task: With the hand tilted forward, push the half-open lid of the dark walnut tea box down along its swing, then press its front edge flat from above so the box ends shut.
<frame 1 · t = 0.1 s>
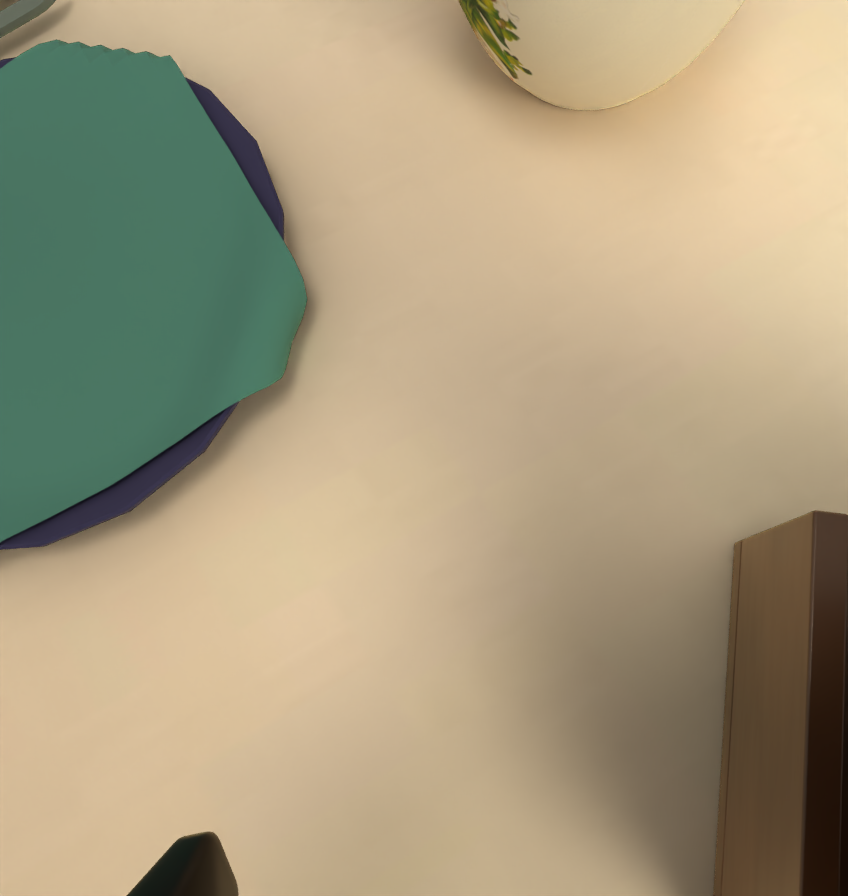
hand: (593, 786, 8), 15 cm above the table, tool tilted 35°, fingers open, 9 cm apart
pitcher: (580, 22, 29), on the table
cutlery set: (9, 208, 30), on the table
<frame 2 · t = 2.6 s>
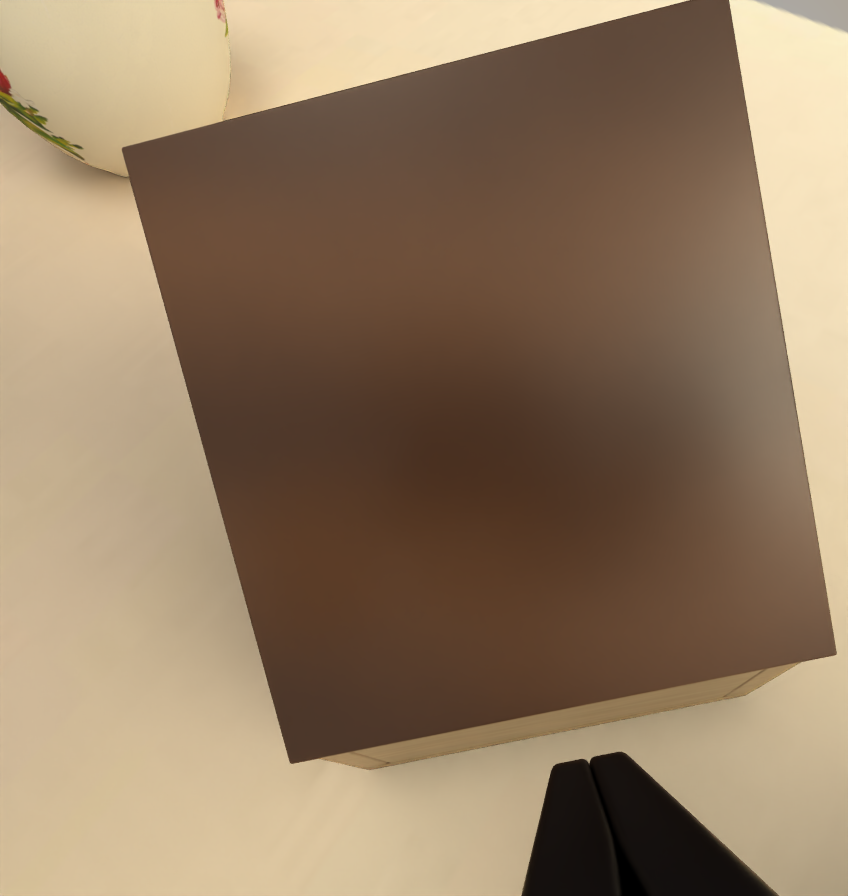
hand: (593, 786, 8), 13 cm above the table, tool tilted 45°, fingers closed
tea box: (509, 545, 24), on the table
pitcher: (152, 121, 36), on the table
lid: (489, 407, 14), point 10 cm above the table, hinge at 35.0°
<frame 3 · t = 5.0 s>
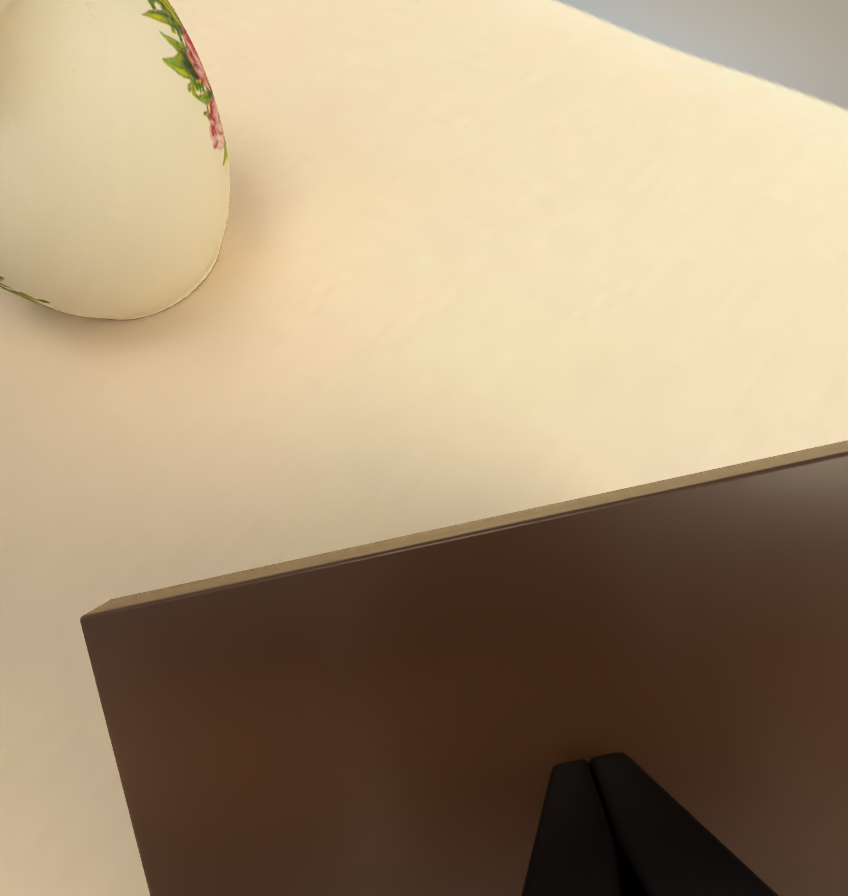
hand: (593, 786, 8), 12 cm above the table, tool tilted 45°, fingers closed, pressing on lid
pitcher: (137, 244, 31), on the table
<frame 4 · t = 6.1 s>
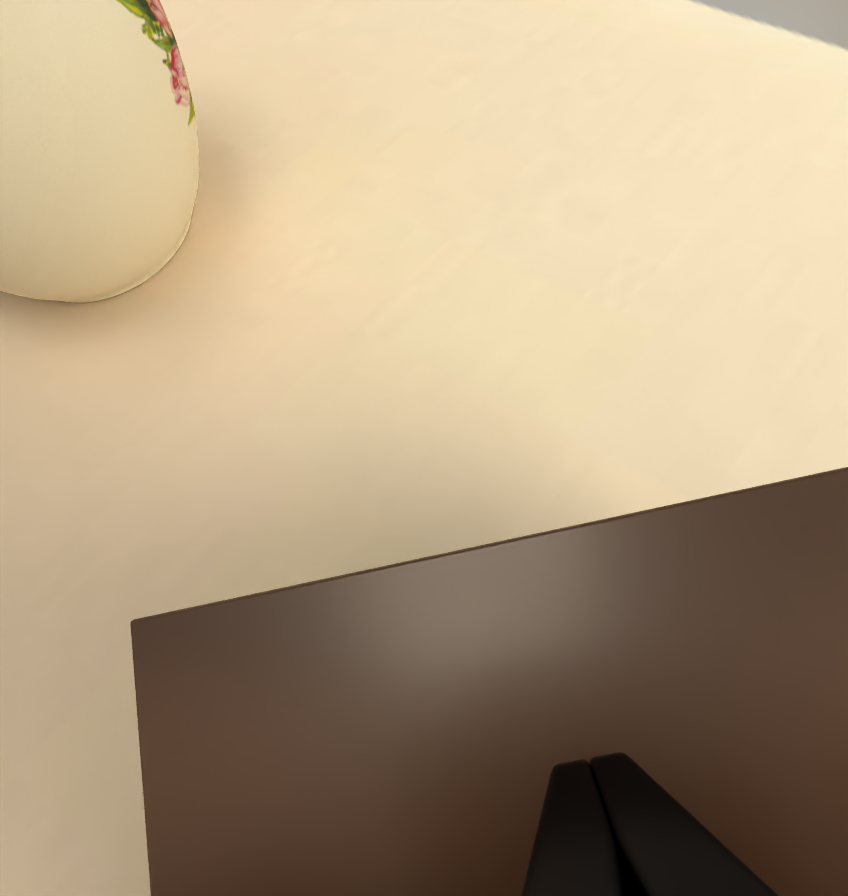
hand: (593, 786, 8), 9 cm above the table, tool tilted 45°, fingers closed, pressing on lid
pitcher: (99, 220, 28), on the table
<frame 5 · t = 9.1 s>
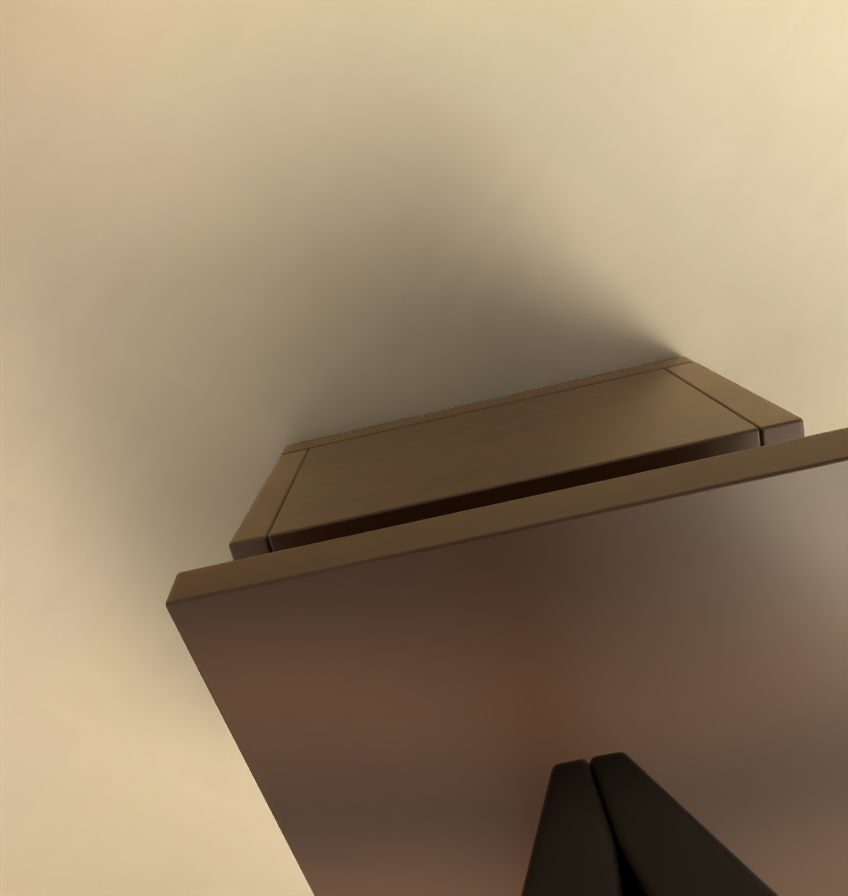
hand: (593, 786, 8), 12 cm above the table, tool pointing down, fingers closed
tea box: (521, 587, 22), on the table
lid: (573, 777, 14), point 8 cm above the table, hinge at 10.8°
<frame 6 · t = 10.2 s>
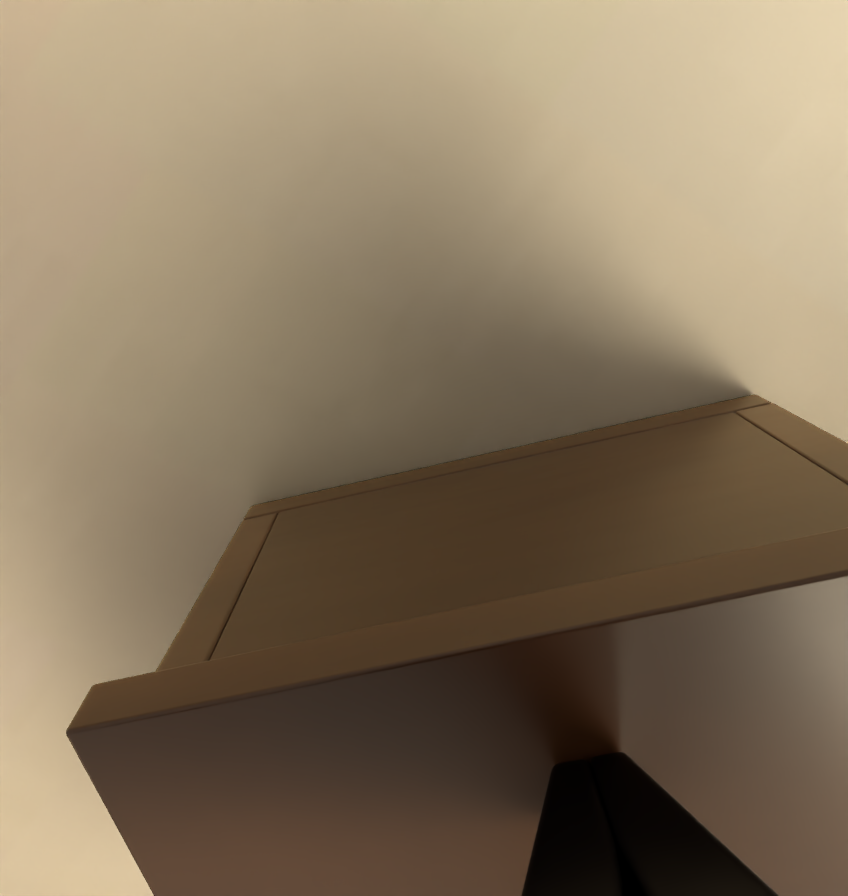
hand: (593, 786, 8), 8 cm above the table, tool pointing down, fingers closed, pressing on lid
tea box: (545, 675, 17), on the table
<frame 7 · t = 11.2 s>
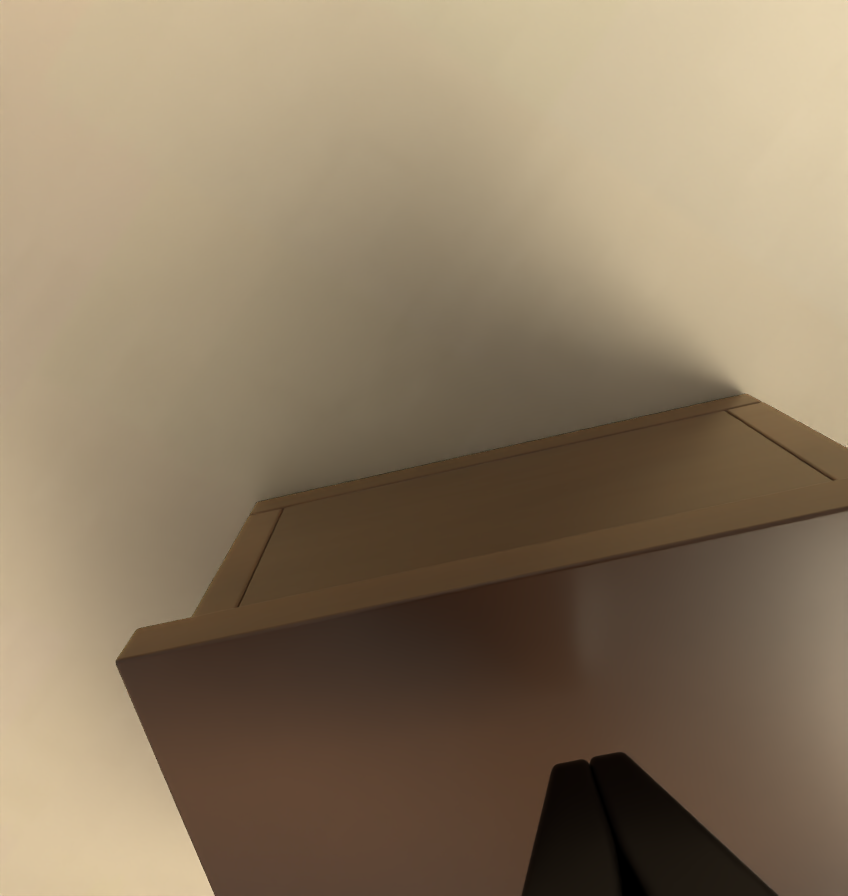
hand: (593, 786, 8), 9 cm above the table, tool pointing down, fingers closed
tea box: (542, 667, 18), on the table
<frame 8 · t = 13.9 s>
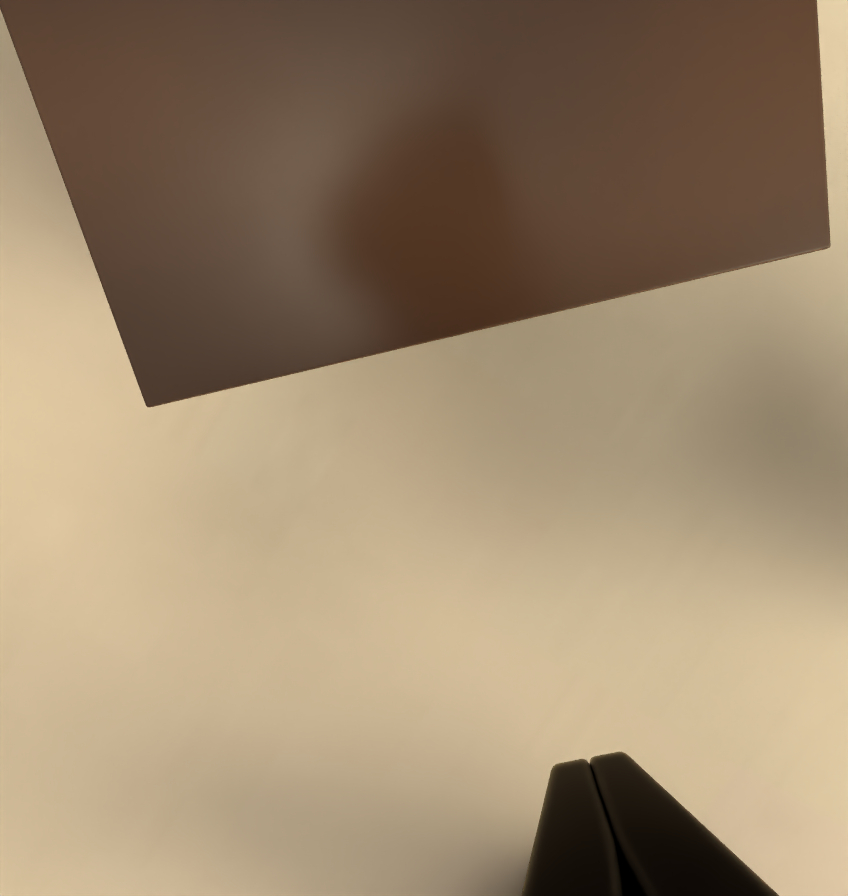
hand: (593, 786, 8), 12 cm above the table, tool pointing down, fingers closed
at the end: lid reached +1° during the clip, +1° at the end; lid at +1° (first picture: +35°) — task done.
